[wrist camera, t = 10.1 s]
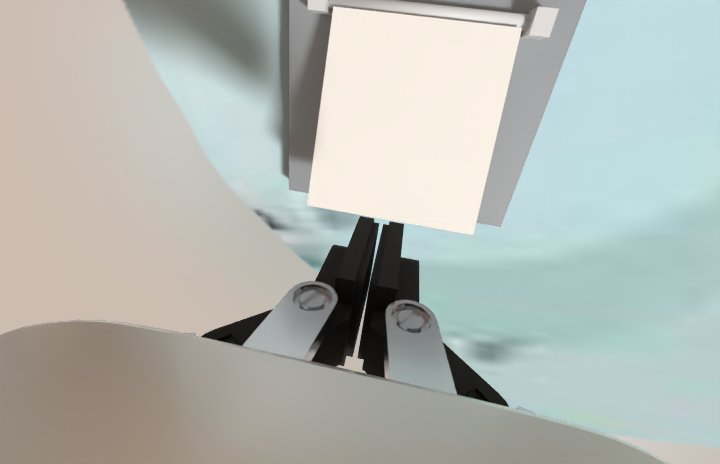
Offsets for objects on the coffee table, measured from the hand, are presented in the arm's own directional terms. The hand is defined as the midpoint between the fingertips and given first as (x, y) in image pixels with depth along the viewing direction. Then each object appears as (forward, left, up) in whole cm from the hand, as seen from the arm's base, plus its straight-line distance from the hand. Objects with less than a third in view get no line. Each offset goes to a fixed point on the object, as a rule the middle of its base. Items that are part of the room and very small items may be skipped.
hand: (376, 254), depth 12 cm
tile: (-4, 0, -8) cm, 9 cm away
